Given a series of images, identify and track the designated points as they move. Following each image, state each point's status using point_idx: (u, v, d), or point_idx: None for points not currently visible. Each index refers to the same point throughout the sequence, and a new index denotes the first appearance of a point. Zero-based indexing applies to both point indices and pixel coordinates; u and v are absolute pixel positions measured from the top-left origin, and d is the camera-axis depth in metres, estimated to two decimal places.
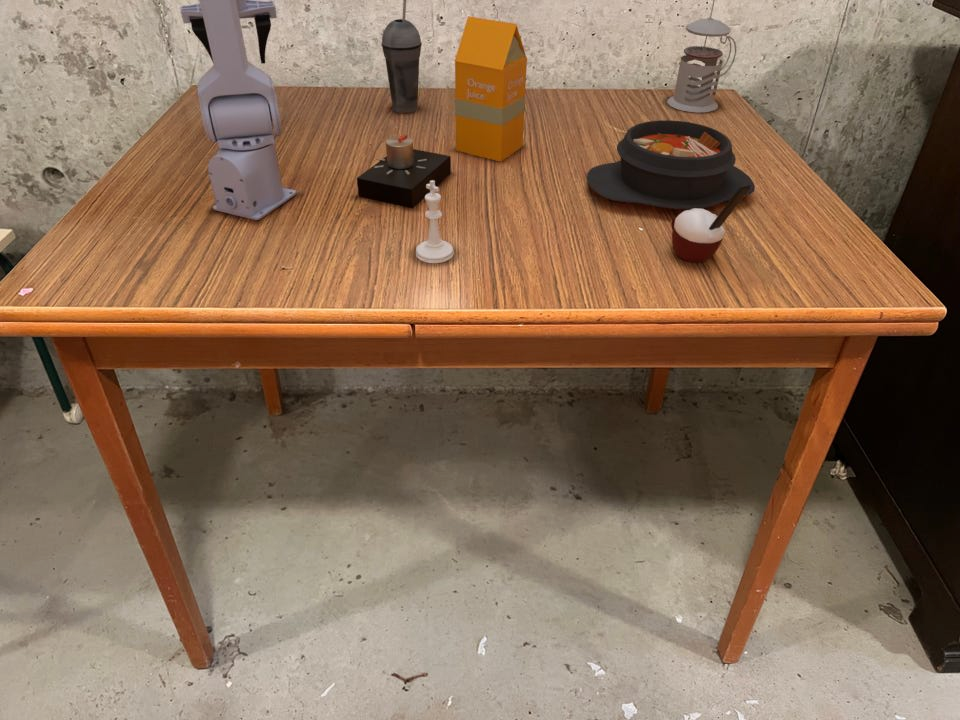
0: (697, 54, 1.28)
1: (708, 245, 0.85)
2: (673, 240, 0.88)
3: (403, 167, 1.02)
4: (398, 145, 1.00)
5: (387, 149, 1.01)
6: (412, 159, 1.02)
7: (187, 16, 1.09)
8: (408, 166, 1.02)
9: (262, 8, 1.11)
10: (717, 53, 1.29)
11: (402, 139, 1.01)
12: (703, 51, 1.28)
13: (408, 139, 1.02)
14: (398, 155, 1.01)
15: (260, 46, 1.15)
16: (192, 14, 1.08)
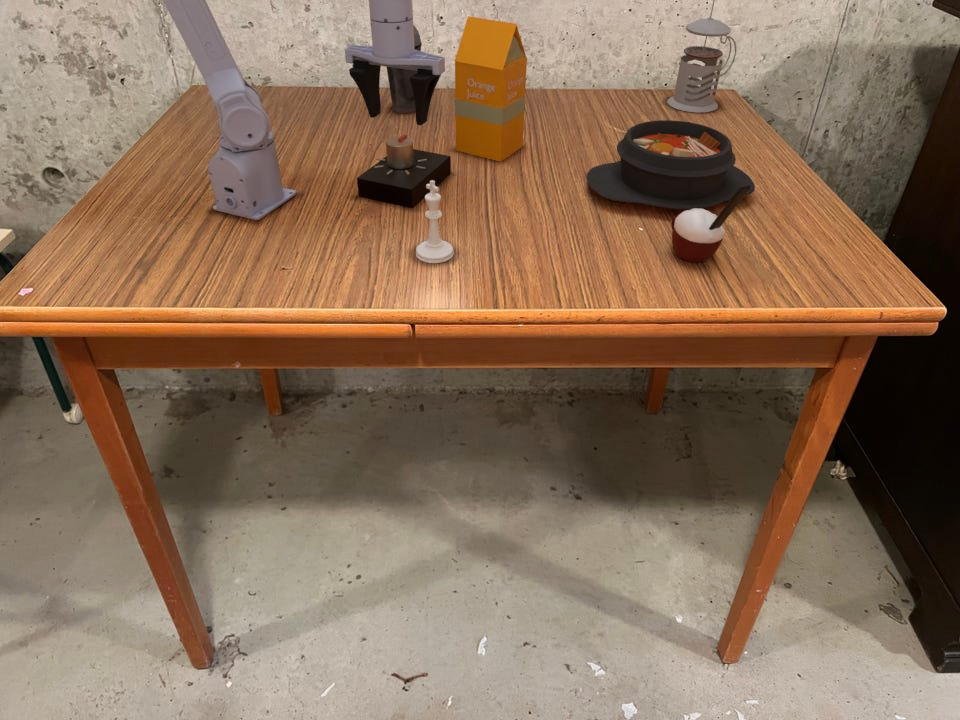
0: (697, 54, 1.28)
1: (708, 245, 0.85)
2: (673, 240, 0.88)
3: (403, 167, 1.02)
4: (398, 145, 1.00)
5: (387, 149, 1.01)
6: (412, 159, 1.02)
7: (350, 55, 0.96)
8: (408, 166, 1.02)
9: (424, 60, 0.92)
10: (717, 53, 1.29)
11: (402, 139, 1.01)
12: (703, 51, 1.28)
13: (408, 139, 1.02)
14: (398, 155, 1.01)
15: (416, 104, 0.96)
16: (354, 54, 0.95)
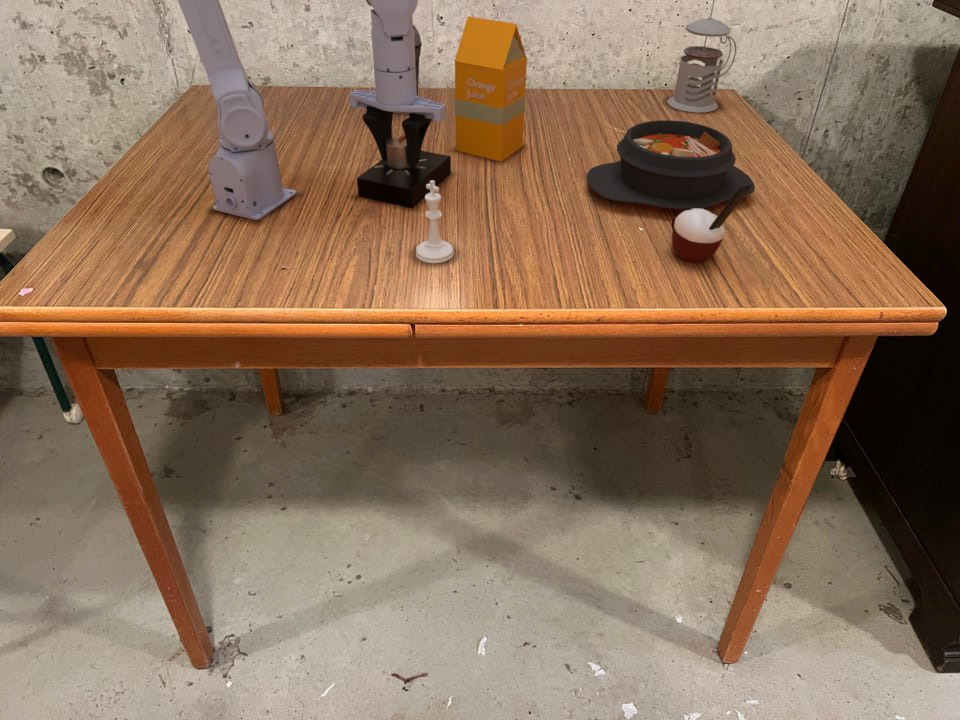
0: (697, 54, 1.28)
1: (708, 245, 0.85)
2: (673, 240, 0.88)
3: (403, 167, 1.02)
4: (398, 145, 1.00)
5: (387, 149, 1.01)
6: None
7: (354, 100, 0.99)
8: (408, 166, 1.02)
9: (425, 108, 0.95)
10: (717, 53, 1.29)
11: (402, 139, 1.01)
12: (703, 51, 1.28)
13: None
14: (398, 155, 1.01)
15: (408, 146, 0.99)
16: (358, 99, 0.98)
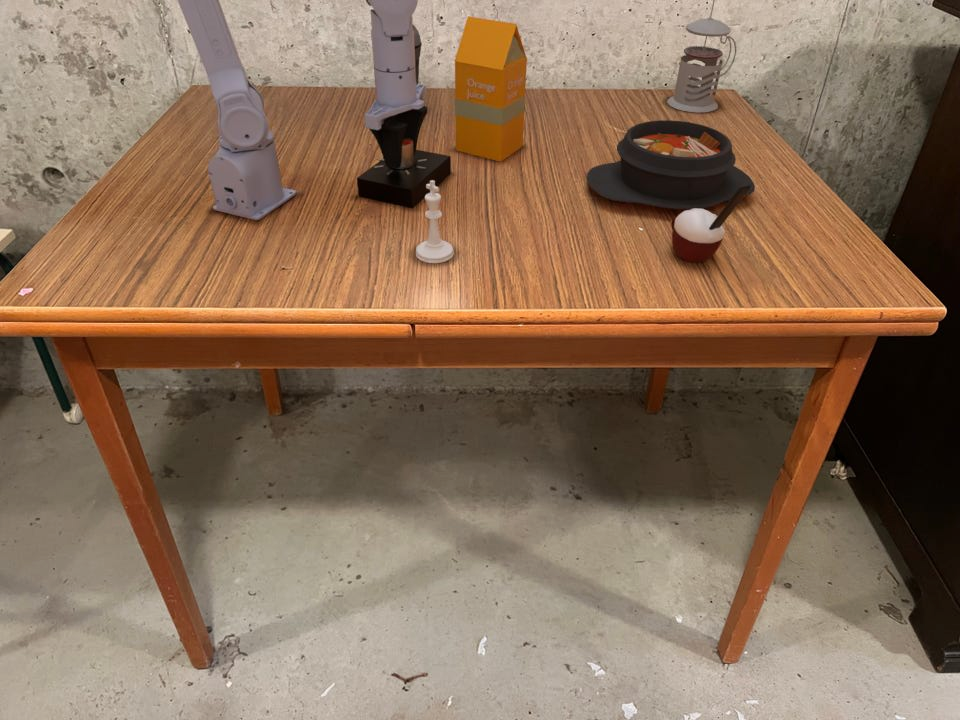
0: (697, 54, 1.28)
1: (708, 245, 0.85)
2: (673, 240, 0.88)
3: None
4: None
5: None
6: None
7: None
8: None
9: (369, 110, 0.94)
10: (717, 53, 1.29)
11: None
12: (703, 51, 1.28)
13: (403, 144, 1.00)
14: None
15: None
16: None
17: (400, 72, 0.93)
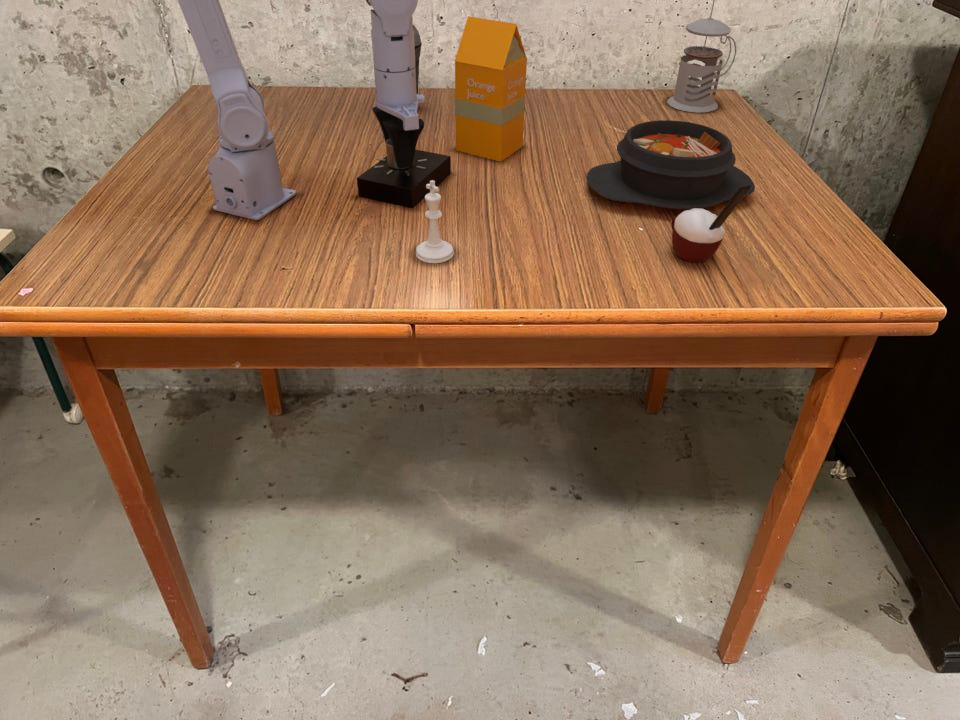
0: (697, 54, 1.28)
1: (708, 245, 0.85)
2: (673, 240, 0.88)
3: (392, 166, 1.02)
4: (391, 143, 1.00)
5: None
6: None
7: None
8: None
9: (398, 113, 0.93)
10: (717, 53, 1.29)
11: None
12: (703, 51, 1.28)
13: None
14: (389, 153, 1.01)
15: (393, 147, 0.99)
16: None
17: (412, 69, 0.94)
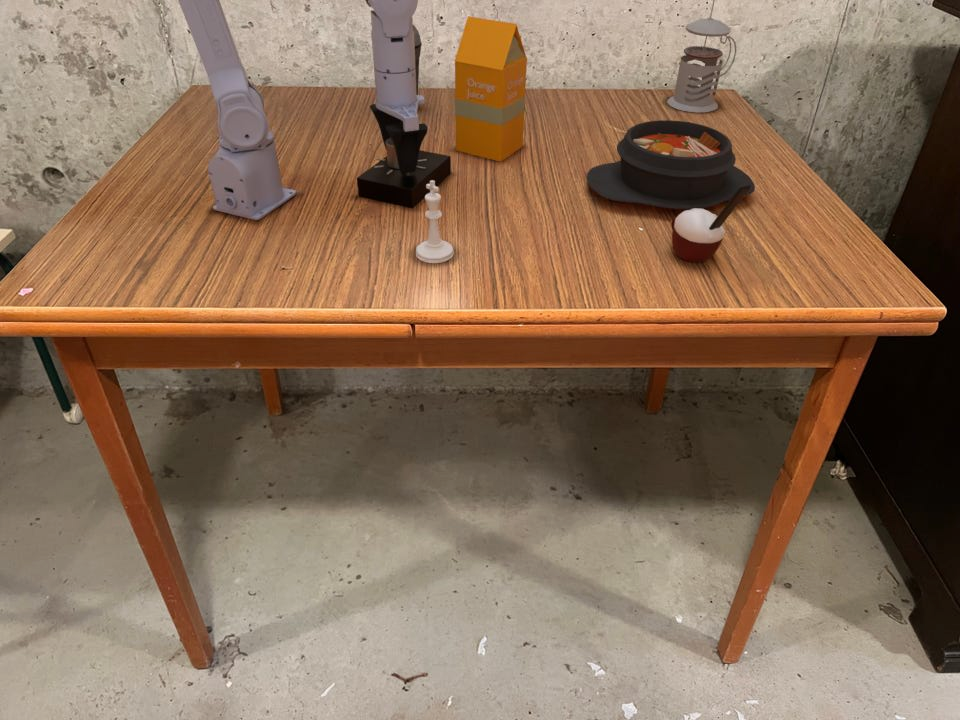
0: (697, 54, 1.28)
1: (708, 245, 0.85)
2: (673, 240, 0.88)
3: (393, 166, 1.02)
4: (391, 144, 1.00)
5: None
6: None
7: None
8: (398, 167, 1.02)
9: (398, 114, 0.93)
10: (717, 53, 1.29)
11: None
12: (703, 51, 1.28)
13: None
14: (389, 153, 1.01)
15: (396, 152, 0.98)
16: None
17: (412, 70, 0.94)
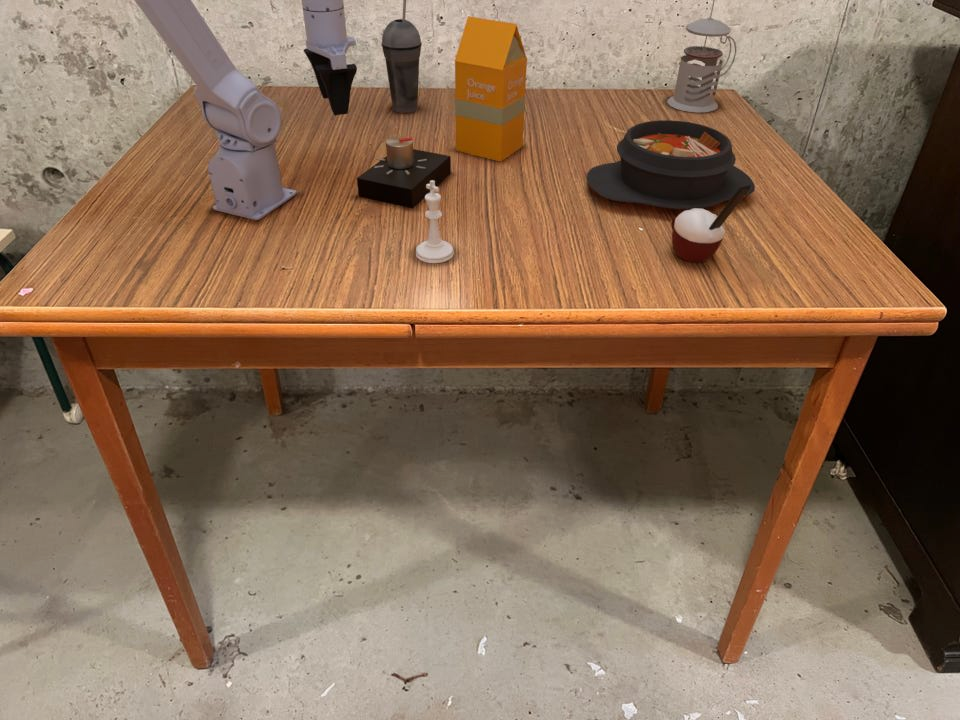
0: (697, 54, 1.28)
1: (708, 245, 0.85)
2: (673, 240, 0.88)
3: (393, 166, 1.02)
4: (391, 144, 1.00)
5: None
6: (405, 162, 1.01)
7: None
8: (398, 167, 1.02)
9: (325, 52, 0.95)
10: (717, 53, 1.29)
11: (402, 140, 1.01)
12: (703, 51, 1.28)
13: (408, 142, 1.01)
14: (389, 153, 1.01)
15: (327, 93, 0.99)
16: None
17: (340, 9, 0.95)
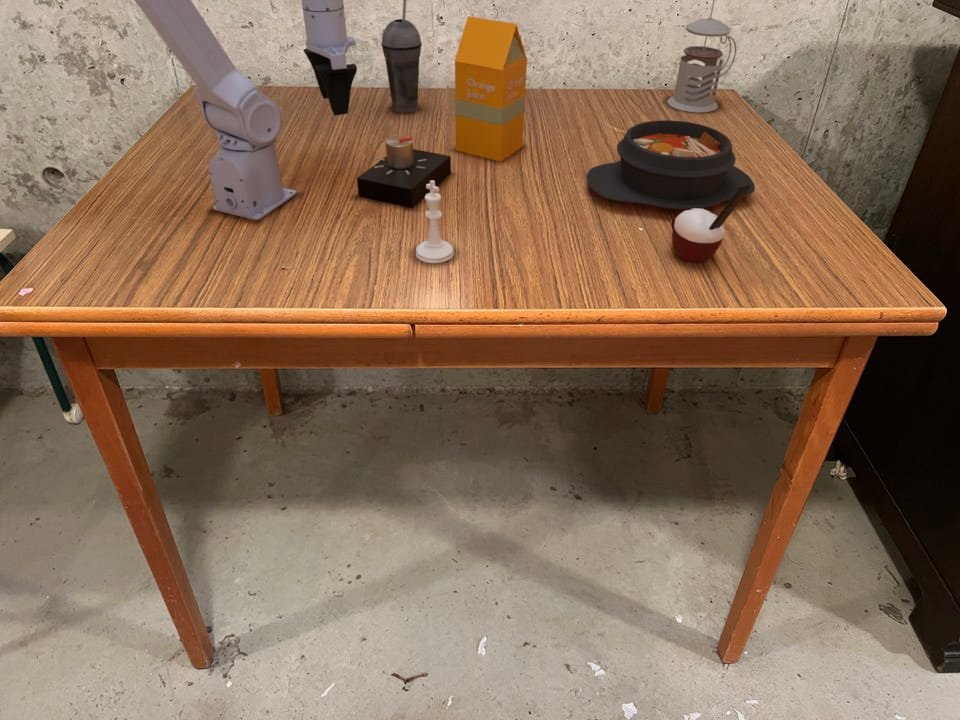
0: (697, 54, 1.28)
1: (708, 245, 0.85)
2: (673, 240, 0.88)
3: (393, 166, 1.02)
4: (391, 144, 1.00)
5: None
6: (405, 162, 1.01)
7: None
8: (398, 167, 1.02)
9: (325, 52, 0.95)
10: (717, 53, 1.29)
11: (402, 140, 1.01)
12: (703, 51, 1.28)
13: (408, 142, 1.01)
14: (389, 153, 1.01)
15: (327, 93, 0.99)
16: None
17: (340, 9, 0.95)
